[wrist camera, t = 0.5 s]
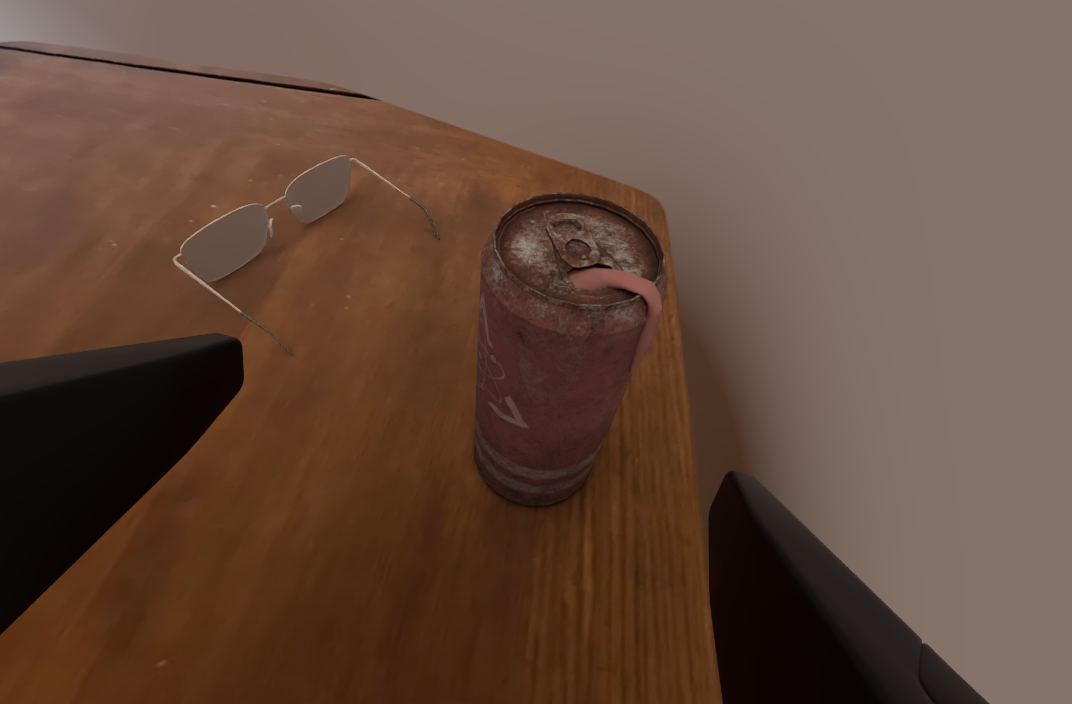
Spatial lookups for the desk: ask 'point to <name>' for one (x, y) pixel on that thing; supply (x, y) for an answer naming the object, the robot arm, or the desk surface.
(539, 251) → the can
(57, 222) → the desk surface
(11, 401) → the robot arm
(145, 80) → the desk surface
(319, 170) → the eyeglasses
